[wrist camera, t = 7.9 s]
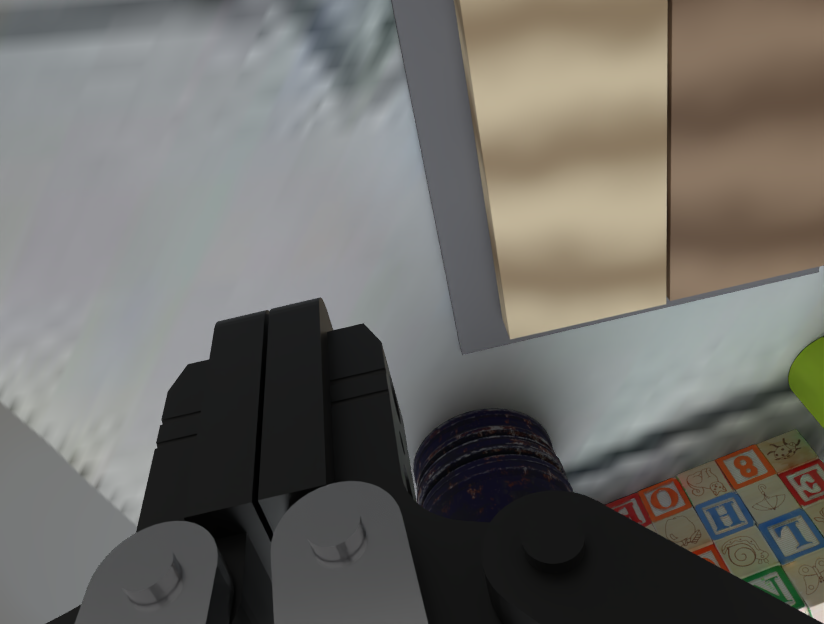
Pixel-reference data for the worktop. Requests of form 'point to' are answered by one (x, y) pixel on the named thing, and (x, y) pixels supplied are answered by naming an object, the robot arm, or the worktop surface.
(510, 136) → the oak plank
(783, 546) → the stack of blocks
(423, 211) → the worktop surface
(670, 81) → the walnut plank
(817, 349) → the soap dispenser
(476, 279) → the underlay mat
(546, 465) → the storage jar
